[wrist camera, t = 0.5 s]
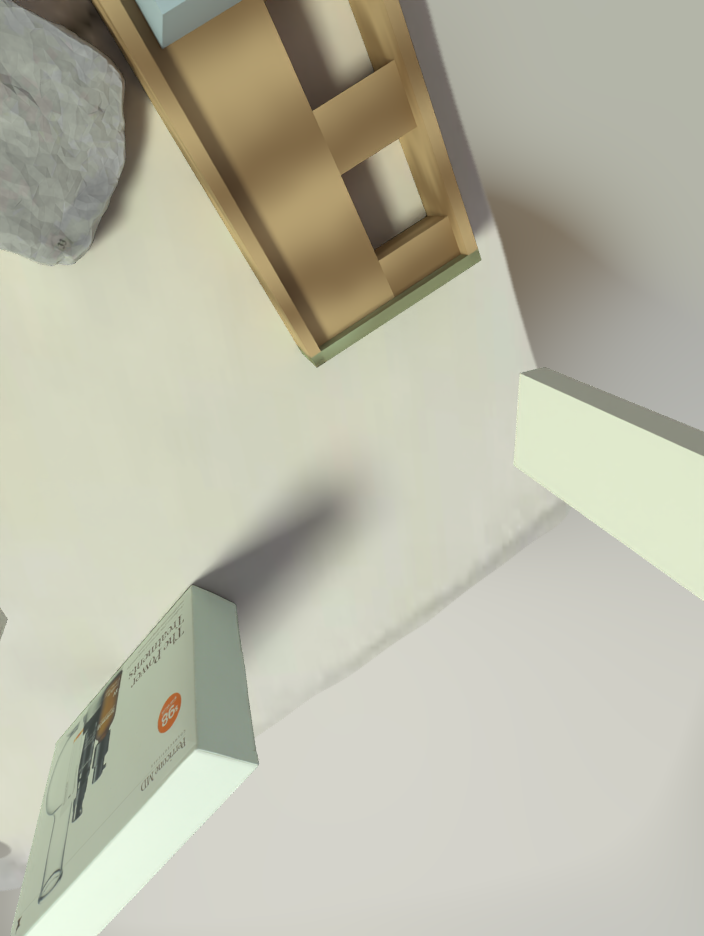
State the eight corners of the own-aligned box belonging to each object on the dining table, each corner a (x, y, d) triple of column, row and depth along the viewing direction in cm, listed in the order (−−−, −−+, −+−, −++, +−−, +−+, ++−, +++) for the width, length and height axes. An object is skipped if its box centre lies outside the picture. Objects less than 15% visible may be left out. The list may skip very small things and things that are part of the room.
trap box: (52, -63, 23) (34, -110, 20) (290, -205, 24) (311, -273, 21) (302, 353, 37) (316, 367, 33) (452, 255, 37) (481, 259, 34)
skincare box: (186, 579, 42) (198, 748, 29) (237, 601, 45) (269, 764, 32) (47, 743, 45) (-1, 967, 31) (104, 754, 48) (82, 963, 34)
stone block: (133, 68, 28) (-103, -64, 22) (148, 59, 24) (-126, -101, 18) (93, 275, 32) (-114, 211, 26) (102, 292, 29) (-135, 223, 23)
